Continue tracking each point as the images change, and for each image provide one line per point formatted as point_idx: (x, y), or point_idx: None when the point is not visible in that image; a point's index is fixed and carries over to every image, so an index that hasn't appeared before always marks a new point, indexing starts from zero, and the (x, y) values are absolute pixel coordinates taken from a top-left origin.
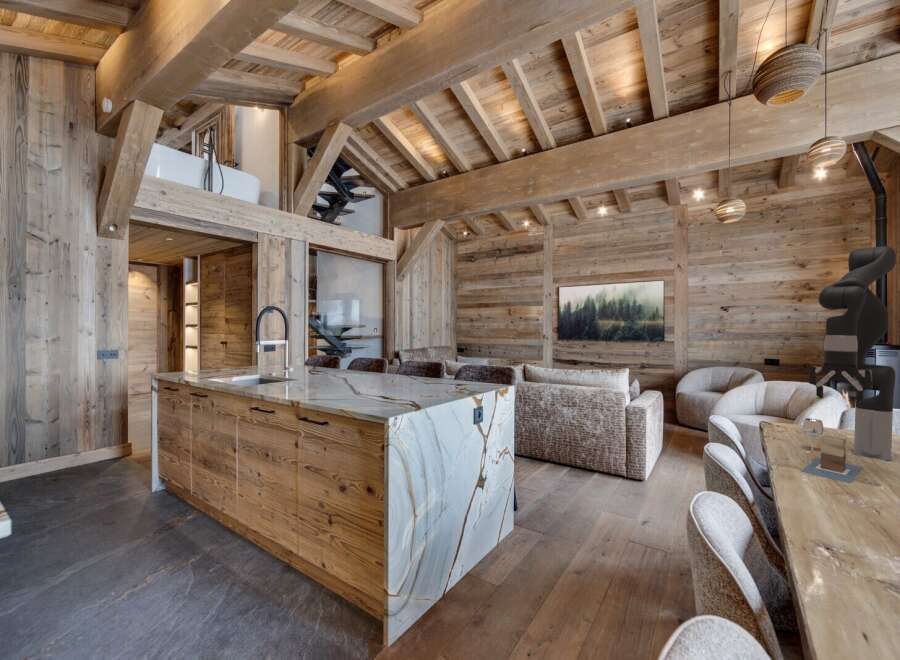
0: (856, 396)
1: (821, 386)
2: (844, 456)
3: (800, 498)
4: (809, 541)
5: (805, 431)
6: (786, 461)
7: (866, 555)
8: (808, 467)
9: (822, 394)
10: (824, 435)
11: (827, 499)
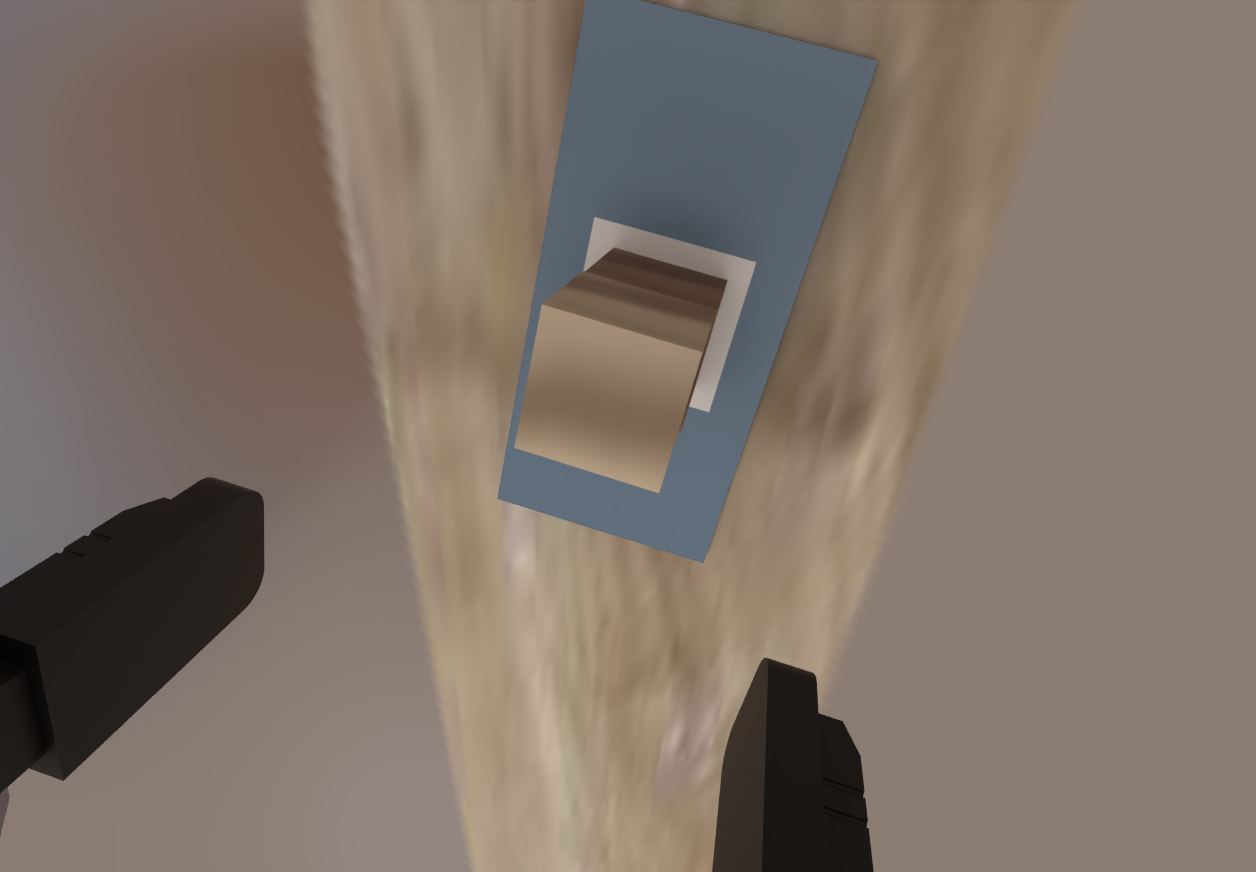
0: (716, 867)
1: (24, 769)
2: (700, 368)
3: (517, 798)
4: None
5: None
6: (419, 224)
7: None
8: None
9: (205, 587)
10: (538, 351)
11: (596, 765)
